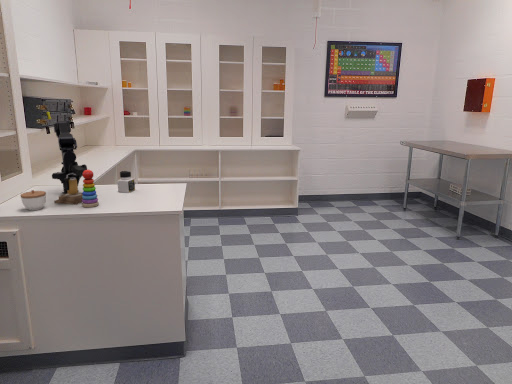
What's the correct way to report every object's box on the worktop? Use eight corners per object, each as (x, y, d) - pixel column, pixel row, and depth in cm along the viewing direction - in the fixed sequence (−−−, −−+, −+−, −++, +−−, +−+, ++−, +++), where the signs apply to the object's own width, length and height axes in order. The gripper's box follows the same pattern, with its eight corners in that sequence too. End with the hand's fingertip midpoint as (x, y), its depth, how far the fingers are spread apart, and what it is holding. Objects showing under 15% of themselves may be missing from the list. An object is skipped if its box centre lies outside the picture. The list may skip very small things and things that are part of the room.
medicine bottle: (129, 192, 218) (127, 172, 215) (118, 192, 219) (116, 172, 216) (135, 189, 225) (133, 170, 222) (124, 189, 226) (122, 169, 223)
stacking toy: (81, 208, 187) (77, 171, 182) (82, 204, 194) (78, 168, 189) (99, 206, 190) (95, 170, 185) (98, 202, 197) (95, 167, 192)
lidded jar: (48, 209, 185) (46, 191, 183) (23, 212, 179) (20, 194, 177) (46, 204, 194) (44, 186, 191) (22, 207, 188) (19, 189, 186)
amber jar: (70, 194, 197) (69, 179, 195) (65, 193, 199) (63, 178, 197) (80, 192, 201) (78, 177, 199) (74, 191, 204) (73, 176, 202)
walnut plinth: (54, 203, 196) (53, 196, 195) (70, 196, 208) (70, 191, 208) (76, 204, 194) (76, 198, 193) (91, 198, 206) (91, 192, 205)
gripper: (66, 164, 185) (69, 194, 188) (94, 158, 201) (97, 186, 205) (49, 162, 188) (53, 192, 192) (78, 157, 205) (81, 184, 209)
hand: (72, 189), depth 200 cm, fingers closed on amber jar, 5 cm apart
